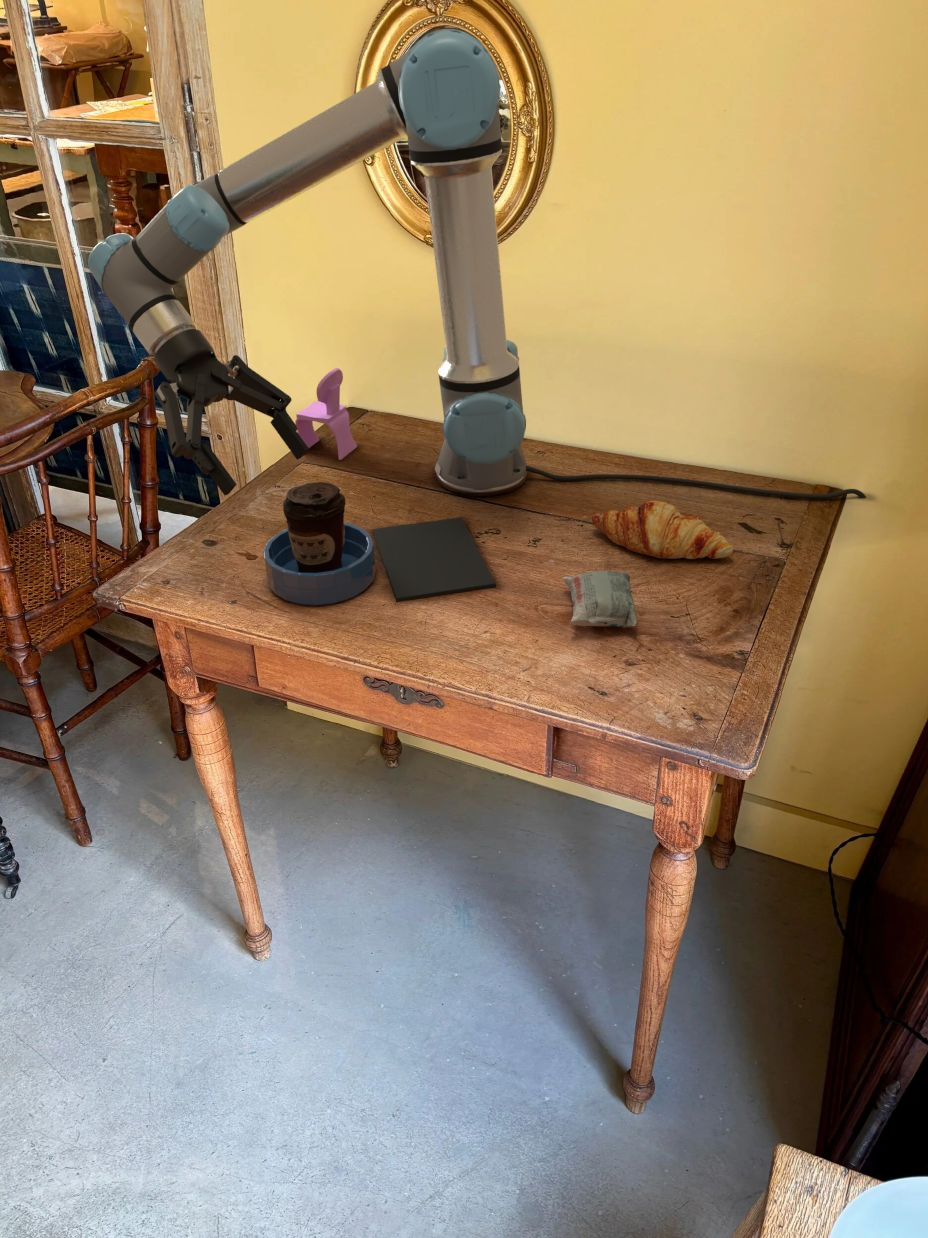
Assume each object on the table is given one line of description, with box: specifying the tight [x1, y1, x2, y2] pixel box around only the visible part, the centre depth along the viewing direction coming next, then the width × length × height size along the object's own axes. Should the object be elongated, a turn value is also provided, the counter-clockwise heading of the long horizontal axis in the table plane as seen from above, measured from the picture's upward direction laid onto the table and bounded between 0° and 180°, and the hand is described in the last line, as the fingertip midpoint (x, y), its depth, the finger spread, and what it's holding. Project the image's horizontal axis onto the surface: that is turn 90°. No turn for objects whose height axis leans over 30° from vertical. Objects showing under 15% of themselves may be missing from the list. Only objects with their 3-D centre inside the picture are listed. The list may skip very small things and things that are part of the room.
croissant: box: [591, 499, 734, 560], centre depth 136 cm, size 21×10×8 cm, turn 65°
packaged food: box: [562, 570, 638, 628], centre depth 122 cm, size 9×12×5 cm
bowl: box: [263, 522, 377, 606], centre depth 131 cm, size 15×15×5 cm
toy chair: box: [294, 367, 358, 461], centre depth 164 cm, size 8×9×15 cm
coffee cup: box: [282, 481, 346, 573], centre depth 128 cm, size 9×8×13 cm
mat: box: [372, 516, 497, 603], centre depth 136 cm, size 14×20×1 cm
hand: (268, 471), depth 128 cm, fingers open, 13 cm apart
